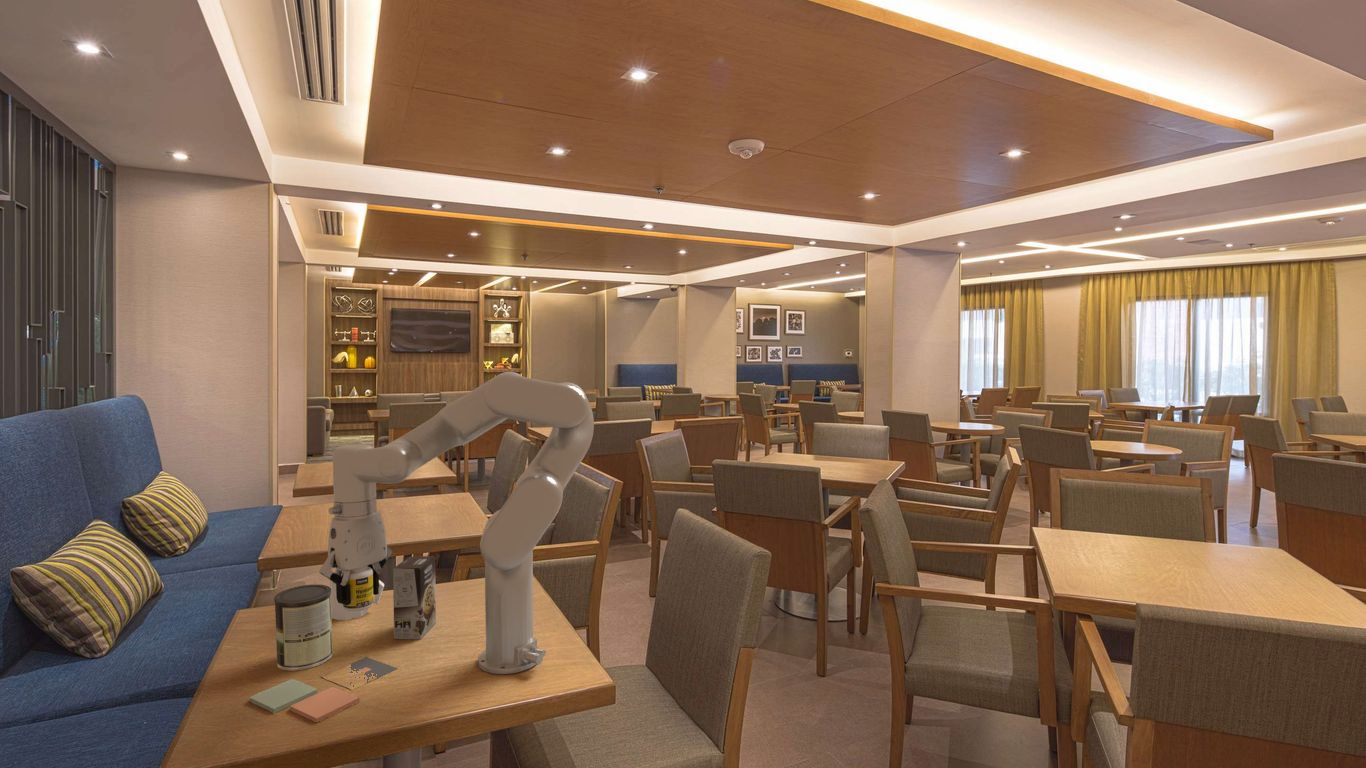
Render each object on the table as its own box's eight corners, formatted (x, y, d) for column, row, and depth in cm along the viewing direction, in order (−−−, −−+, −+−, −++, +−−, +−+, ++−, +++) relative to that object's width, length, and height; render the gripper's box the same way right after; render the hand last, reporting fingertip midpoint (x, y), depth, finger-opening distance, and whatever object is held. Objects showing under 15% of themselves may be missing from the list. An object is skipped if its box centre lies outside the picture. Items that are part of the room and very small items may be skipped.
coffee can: (264, 667, 138) (261, 598, 138) (306, 645, 148) (304, 581, 147) (304, 674, 135) (301, 604, 134) (344, 652, 145) (342, 587, 144)
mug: (326, 622, 161) (325, 581, 160) (334, 608, 169) (333, 569, 168) (382, 616, 164) (381, 576, 163) (387, 603, 172) (386, 565, 172)
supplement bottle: (356, 614, 132) (355, 564, 131) (337, 609, 134) (335, 560, 133) (379, 604, 137) (378, 556, 136) (360, 600, 139) (358, 552, 138)
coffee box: (421, 639, 151) (420, 568, 150) (393, 639, 151) (391, 568, 151) (437, 623, 160) (436, 555, 159) (410, 622, 161) (408, 555, 160)
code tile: (397, 670, 138) (397, 668, 138) (352, 692, 129) (352, 689, 129) (366, 658, 143) (366, 656, 143) (320, 678, 134) (320, 676, 134)
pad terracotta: (359, 702, 125) (359, 697, 125) (317, 722, 118) (316, 718, 118) (332, 690, 129) (332, 686, 129) (290, 710, 122) (290, 706, 122)
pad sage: (317, 693, 128) (317, 689, 128) (274, 713, 121) (273, 708, 121) (292, 682, 132) (292, 678, 132) (249, 701, 125) (249, 697, 125)
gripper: (325, 520, 125) (328, 617, 126) (405, 501, 140) (407, 588, 141) (301, 515, 129) (304, 609, 130) (381, 497, 143) (384, 582, 144)
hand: (358, 597), depth 135 cm, fingers closed on supplement bottle, 5 cm apart
